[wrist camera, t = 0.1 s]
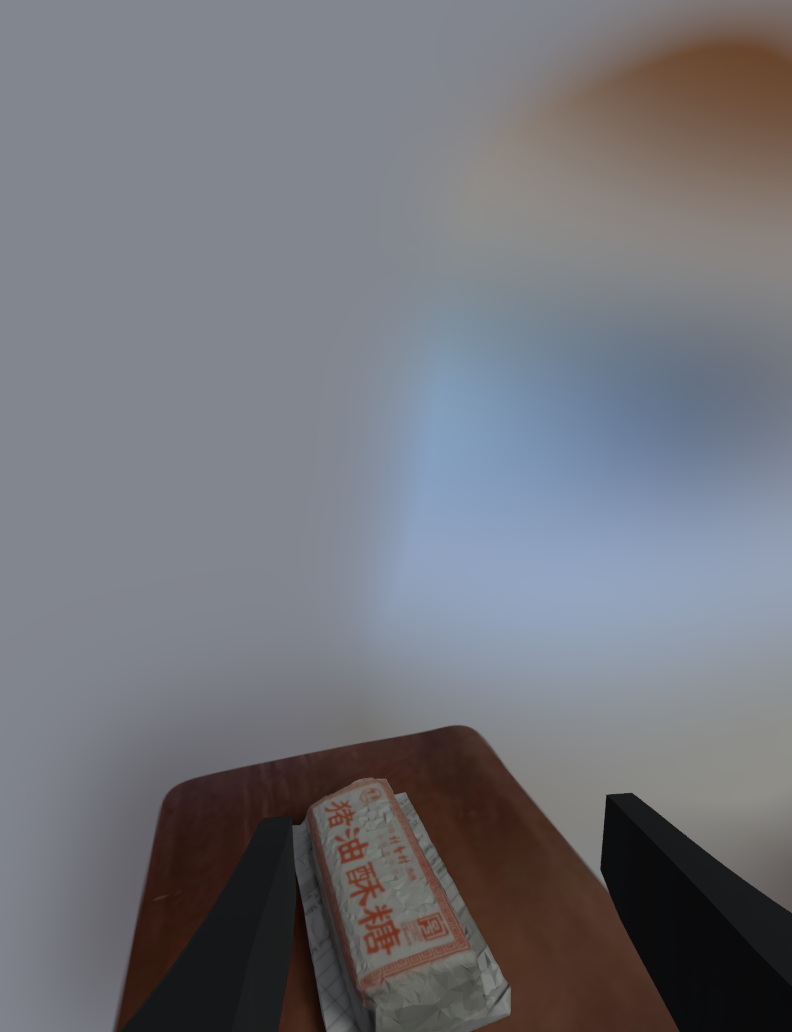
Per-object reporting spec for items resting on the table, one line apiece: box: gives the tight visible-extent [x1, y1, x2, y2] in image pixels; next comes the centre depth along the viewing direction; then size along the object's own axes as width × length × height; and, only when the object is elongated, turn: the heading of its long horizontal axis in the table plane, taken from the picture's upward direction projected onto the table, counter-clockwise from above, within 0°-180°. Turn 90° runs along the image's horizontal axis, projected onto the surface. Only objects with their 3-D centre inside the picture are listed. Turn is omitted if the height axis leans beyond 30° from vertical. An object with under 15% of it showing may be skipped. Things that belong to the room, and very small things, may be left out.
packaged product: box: [292, 778, 511, 1032], centre depth 35 cm, size 18×5×10 cm
